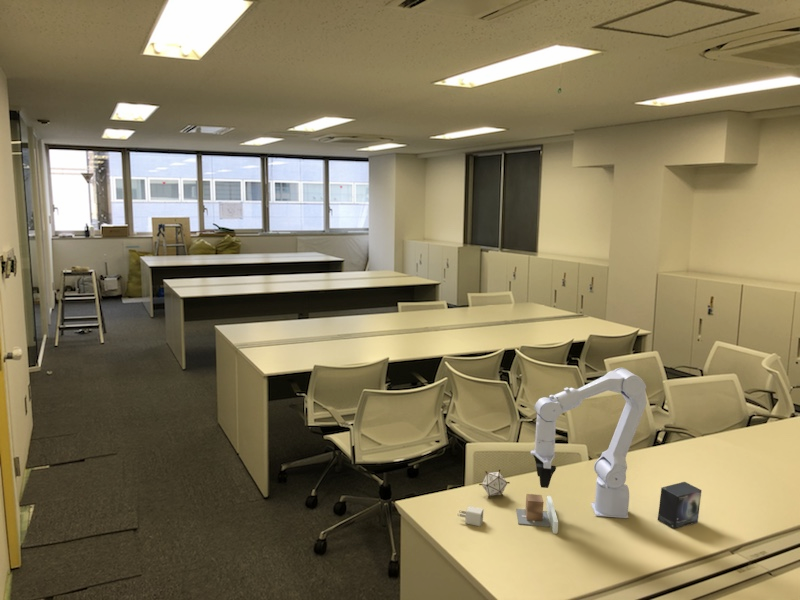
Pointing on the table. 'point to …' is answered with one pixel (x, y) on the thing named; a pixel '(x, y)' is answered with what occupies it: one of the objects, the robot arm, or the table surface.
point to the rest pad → (524, 521)
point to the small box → (679, 505)
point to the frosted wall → (552, 515)
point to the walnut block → (534, 507)
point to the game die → (494, 483)
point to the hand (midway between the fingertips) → (542, 481)
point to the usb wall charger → (473, 516)
